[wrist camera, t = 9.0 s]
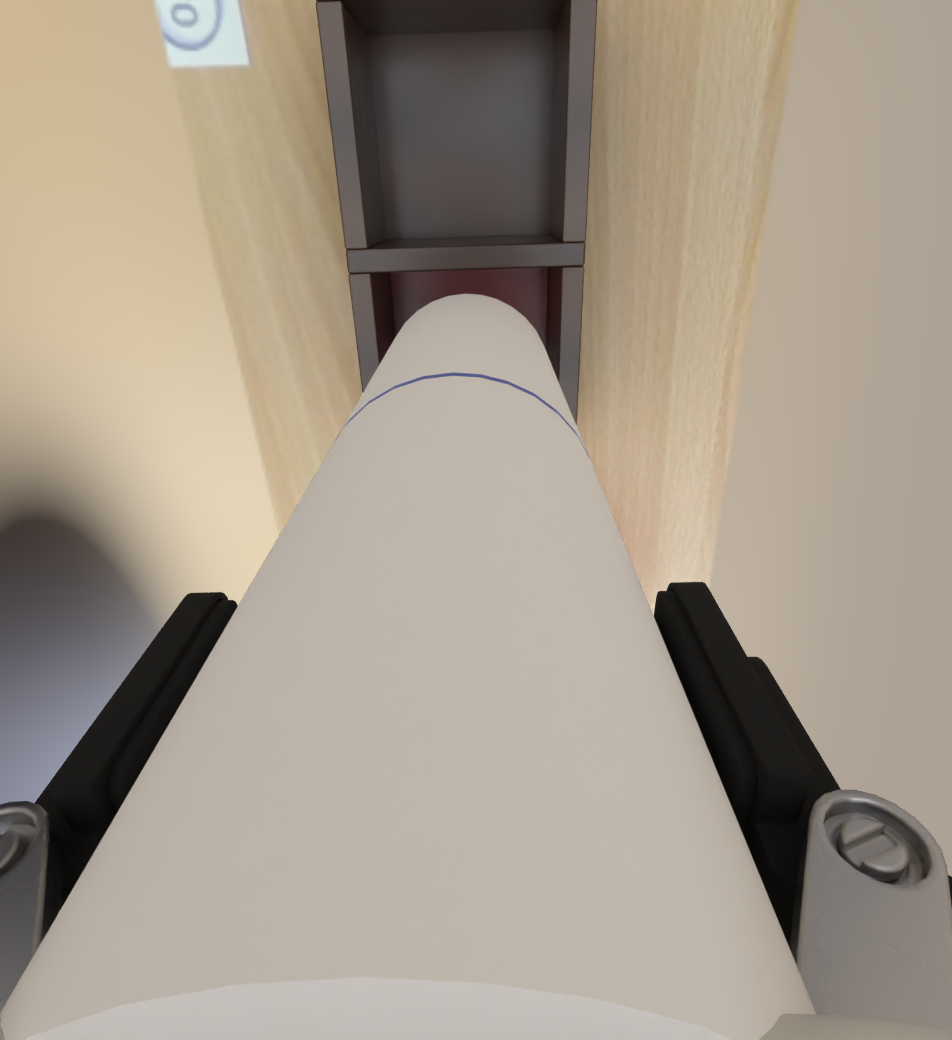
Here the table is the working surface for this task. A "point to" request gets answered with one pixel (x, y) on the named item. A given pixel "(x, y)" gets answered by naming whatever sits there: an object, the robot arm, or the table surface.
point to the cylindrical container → (428, 764)
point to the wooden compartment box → (462, 160)
